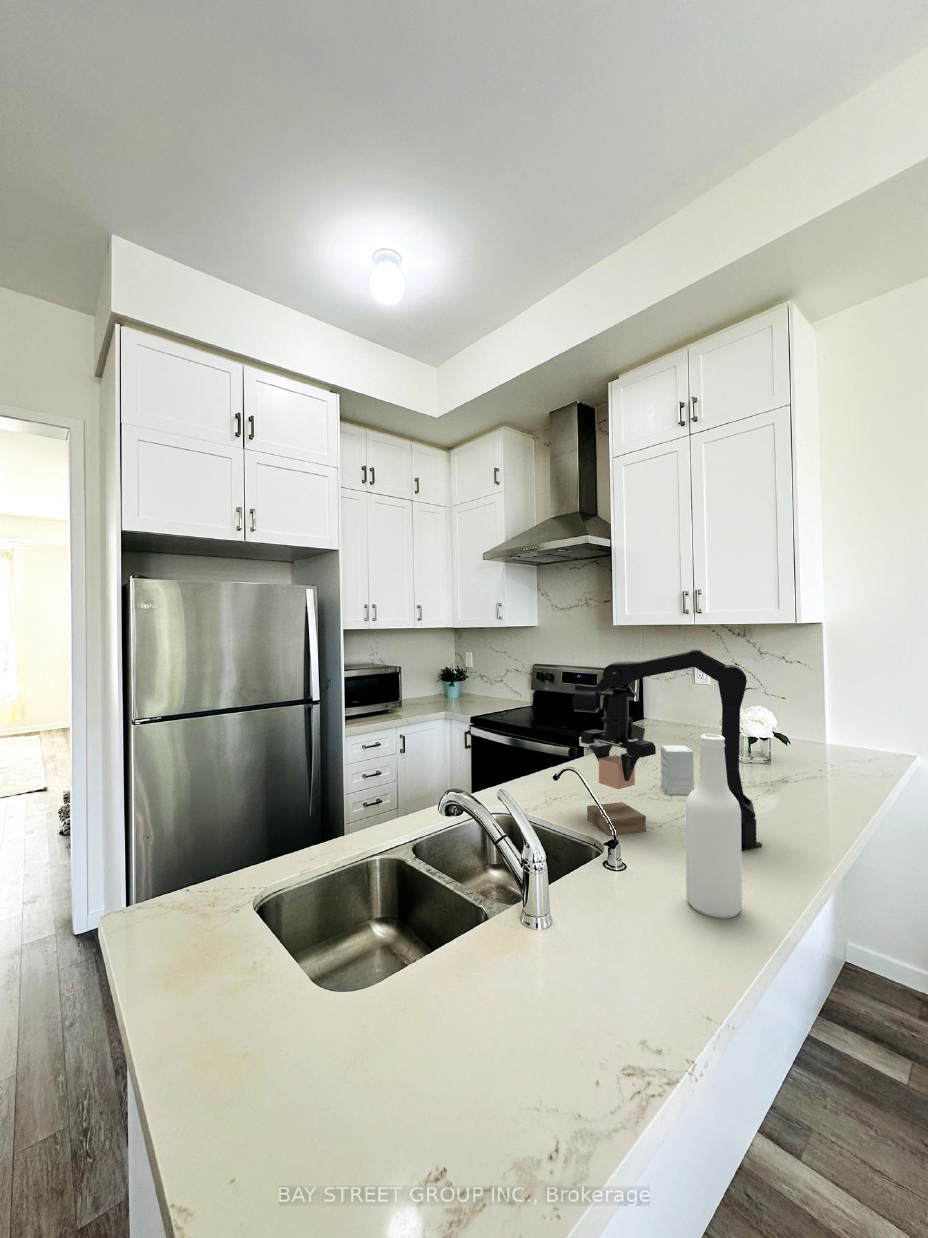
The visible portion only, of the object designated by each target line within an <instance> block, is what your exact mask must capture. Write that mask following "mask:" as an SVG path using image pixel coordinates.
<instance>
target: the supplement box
mask: <svg viewBox="0 0 928 1238" xmlns="http://www.w3.org/2000/svg"><path fill="white" fill-rule="evenodd" d="M660 773H661V775H660V778H661V779H660V785H661V788H662V789H663V790H664V791H665V792H666V794H668V795H680V796H681V795H682V796H683V795H687V796H688V795H689V794H690V793H691V791H692V790H693V789H694V788H695V785H694V784H695V783H694V782H695V780H694V779H695V778H694V751H693V750H692V749H690V748H689V747H687V745H685V744H684V745H681V744H680V745H675V744H672V745H671V744H670V745H669V744H668V745H667V744H663V745H662V744H661V745H660Z"/></svg>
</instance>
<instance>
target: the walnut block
mask: <svg viewBox="0 0 928 1238" xmlns="http://www.w3.org/2000/svg"><path fill="white" fill-rule="evenodd" d="M596 805H597V804H594V805H593V804H591V805H587V807H586V809H587V811H586V817H587V819H586V820H588V821H587V822H589V823H590V824H591V823H592V824H591V825H592V826H594V827H595V826H596V827H595V828H597V829H598V828H599V829H598V830H599V831H600V832H602V833H603V834H604V835H606V836H607V837H614V836H613V835H612V830H611V829H610V826H609V823H607V821H606V819H605V817H603V814H601V812H600V809H599V808H598V806H596ZM600 805H601V806H602V807H603V810H605V812H606V814H607V816H608V817H609V819H610V821H611V823H612V825H613V826H614V829H615V830H616V834H617V835H616V836H621V835H622V836H623V835H628V834H636V833H643V832H646V831H647V821H646V819H647V816H646V815H645V814H643V813H641V812H640V811H638V810H637V809H634V808H633V807H631V806H630V805H628V804H627V803H624V802H623V801H621V802H620V801H619V802H612V803H602V804H600Z"/></svg>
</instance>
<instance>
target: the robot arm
mask: <svg viewBox="0 0 928 1238" xmlns="http://www.w3.org/2000/svg"><path fill="white" fill-rule="evenodd" d="M692 668H695V669H697V670H698V671H700V672H702V673H703V674H705V675H706V676H708V677H709V678H711V679H713V680H714V681H717V683H718V684H717V685H718V689H719V694H720V695H719V696H720V700H721V736H723V737H724V738H725V740H724V744H725V747H724V752H725V762H726V773H727V784H728V787H729V790H730V791H731V793H732V794H733V795H734V796H735V798H736V799H737V800H738V802H739V806H740V810H741V851H745V850H750V849H755V848H761V847H762V846H763V844H762V843H761V842H758V841H757V818H756V811H755V808H754V804H753V802H752V801H751V800H750V799H749V798H748V797H747V795H746V794H745V793H744V790H743V784H742V781H741V775H740V738H741V737H740V735H741V733H740V731H741V728H740V727H741V707H742V703H743V700H744V696H745V691H746V687H747V682H748V679H747V676H746V674H745V672H744V671H743V670H742V669H741V667H739V666H737V665H734V664H725V663H723V662H721V661H719V660H717V659H716V658H714V657H711V656H710V655H708V654H707V653H704V651H702V650H701V649H698V648H696V649H691V650H690V651H685V652H680V653H675V654H671V655H667V656H662V657H661V656H660V657H657V658H652V659H647V660H644V661H616V662H613V663H610V664H608V665H607V666H606V667H604V669H603V672H602V678H601V680H600V681H599V682H598V683H597V684H596V685H588V684H581V683H579V684H578V683H577V684H575V686H574V692H573V698H572V709H573V711H574V712H582V713H598V712H599V709H600V710H602V709H603V708H604V713H603V714H604V716H603V717H600V723H604V730H600V729H595V728H594V729H590V730H589V729H588V730H585V731H584V730H583V732H582V733H581V735H580V742H581V743H582V744H584V745H585V744H586V745H588V748H589V749H591V752H593V754H594V756H595V758H596V760H597V762H598V763H599V758H604V757H608V756H610V752H611V749H612V747H617V748H622V749H625V750H626V752H625V753H621V754H620V756H621V760H622V767H623V774H624V778H625V781H629V780H630V777H631V774H632V772H633V769H634V766H635V767H636V764H637V762H638V761H639V759H640V758H645V757H650V756H654V755H657V752H656V751H657V747H656V744H655V743H654V742H653V741H649V740H645V739H644V736H645V733H646V732H645V731H646V728H644V727H641V726H639V725H636V724H634V720H633V718H632V717H630V715H629V702H630V700H629V698H636V696H637V695H638V693H637V692H636V691H635V690H634V689H633V687H632V686H631V685H629V686H628V687H627V688H620V687H623V686H626V685H628V684H630V683H633V682H636V681H637V680H640V679H642V678H646V677H651V676H655V675H662V674H666V673H672V672H676V671H682V670H687V669H692ZM610 688H613V690H612V691H607V690H608V689H610ZM603 706H604V707H603Z"/></svg>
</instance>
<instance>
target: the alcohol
mask: <svg viewBox="0 0 928 1238" xmlns="http://www.w3.org/2000/svg"><path fill="white" fill-rule="evenodd" d="M699 738H700V742H699V746H700V752H699V753H700V755H699V768H698V781H697V784H696V786H694V789H693V790H692V791H691V793H690V794H689V795H687V799H686V801H685V802H686V803H685V855H686V857H685V858H686V859H685V861H686V862H685V864H686V865H685V867H686V871H685V872H686V874H685V875H686V877H685V878H686V881H685V883H686V898H687V901H688V903H689V904H690V905H691V907H692V908H693V909H694V910H695V911H697V912H698V913H700V914H702V915H704V916H708V917H711V918H715V919H731V918H735V917H736V916H737V915H739V913H740V912H741V910H742V908H743V905H742V904H743V903H742V902H743V899H742V898H743V897H742V891H743V890H742V888H743V887H742V883H743V881H742V880H743V879H742V875H743V874H742V873H743V872H742V850H741V810H740V806H739V802H738V800H737V799H736V798H735V796H734V795H733V794H732V793H731V791H730V790H729V787H728V784H727V773H726V762H725V752H724V747H725V744H724V740H725V738H724V737H723V736H722V734H718V733H717V734H716V733H703V734H701V735H700V736H699Z"/></svg>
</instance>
